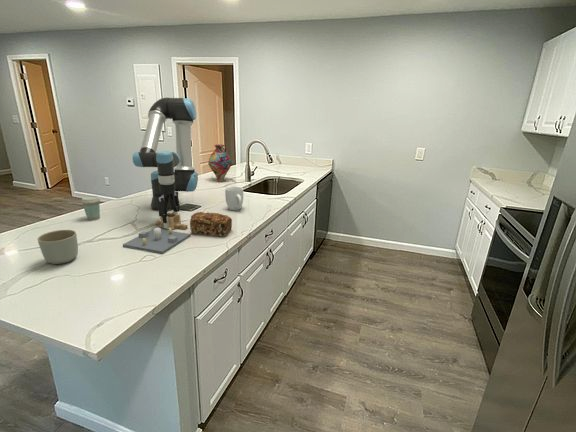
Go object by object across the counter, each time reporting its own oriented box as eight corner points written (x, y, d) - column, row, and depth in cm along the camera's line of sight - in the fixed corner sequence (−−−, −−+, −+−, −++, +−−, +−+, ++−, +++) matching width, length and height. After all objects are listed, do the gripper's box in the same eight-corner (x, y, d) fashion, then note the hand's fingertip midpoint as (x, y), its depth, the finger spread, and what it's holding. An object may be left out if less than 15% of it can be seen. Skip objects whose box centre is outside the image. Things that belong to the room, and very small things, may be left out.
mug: (249, 211, 193) (249, 191, 189) (232, 214, 187) (232, 193, 183) (239, 205, 205) (238, 185, 201) (223, 207, 199) (222, 187, 195)
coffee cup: (106, 217, 176) (102, 196, 172) (91, 222, 168) (87, 200, 164) (96, 215, 179) (92, 194, 175) (81, 219, 172) (76, 198, 168)
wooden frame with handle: (152, 226, 165) (151, 215, 163) (161, 221, 171) (159, 211, 169) (182, 231, 160) (181, 220, 158) (190, 226, 167) (189, 215, 165)
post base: (123, 246, 141) (121, 233, 139) (154, 230, 160) (153, 219, 158) (163, 254, 136) (161, 240, 134) (190, 236, 155) (189, 224, 153)
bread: (190, 234, 157) (188, 215, 154) (199, 226, 167) (198, 209, 164) (225, 238, 155) (225, 218, 151) (232, 230, 165) (232, 211, 161)
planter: (39, 269, 120) (33, 243, 117) (48, 256, 131) (42, 231, 127) (78, 264, 125) (72, 239, 121) (83, 251, 136) (78, 228, 132)
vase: (210, 178, 275) (209, 143, 265) (232, 178, 277) (231, 143, 267) (207, 183, 258) (205, 146, 248) (231, 183, 260) (230, 146, 250)
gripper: (160, 188, 148) (165, 233, 156) (185, 179, 166) (188, 220, 174) (147, 186, 150) (152, 231, 158) (172, 178, 168) (176, 218, 176)
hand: (171, 225), depth 166 cm, fingers closed on wooden frame with handle, 7 cm apart
